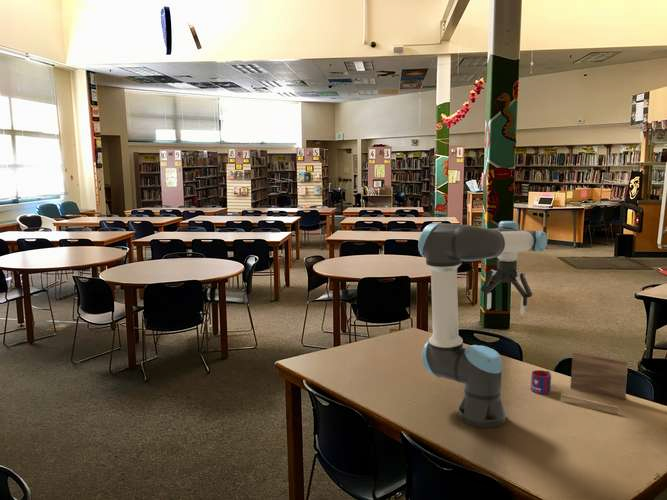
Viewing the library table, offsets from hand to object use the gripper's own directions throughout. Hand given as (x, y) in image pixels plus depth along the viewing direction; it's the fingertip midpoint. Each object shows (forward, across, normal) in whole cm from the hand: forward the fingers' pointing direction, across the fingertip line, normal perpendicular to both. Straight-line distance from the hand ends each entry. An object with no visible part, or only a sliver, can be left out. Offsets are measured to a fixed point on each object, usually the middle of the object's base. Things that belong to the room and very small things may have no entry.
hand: (505, 311), depth 213 cm
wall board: (+25, -36, +4) cm, 44 cm away
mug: (+25, -19, +12) cm, 34 cm away
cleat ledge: (+25, -36, +18) cm, 47 cm away
